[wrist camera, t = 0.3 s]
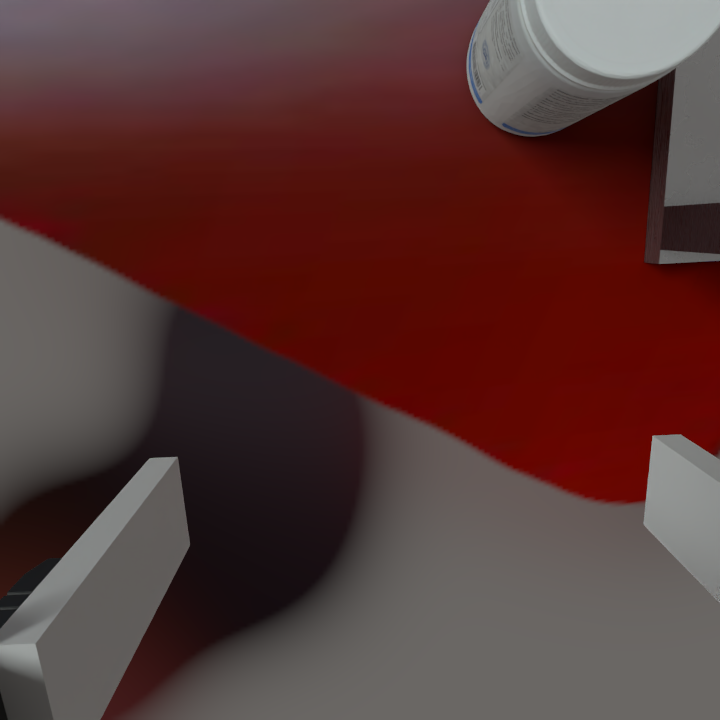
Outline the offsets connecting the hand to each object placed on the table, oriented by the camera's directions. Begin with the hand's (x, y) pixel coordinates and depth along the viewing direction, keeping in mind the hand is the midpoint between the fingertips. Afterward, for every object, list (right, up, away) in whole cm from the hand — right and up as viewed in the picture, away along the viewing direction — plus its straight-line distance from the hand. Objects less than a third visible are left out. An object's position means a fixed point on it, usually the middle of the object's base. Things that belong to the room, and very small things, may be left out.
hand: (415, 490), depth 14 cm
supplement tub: (+10, +24, +22) cm, 34 cm away
